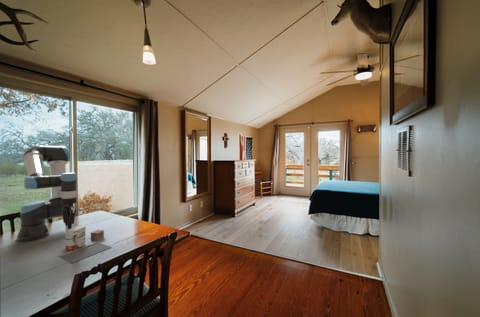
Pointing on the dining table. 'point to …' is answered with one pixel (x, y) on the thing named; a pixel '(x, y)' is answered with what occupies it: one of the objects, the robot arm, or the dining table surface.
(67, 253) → the oak strip
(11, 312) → the dining table surface
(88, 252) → the mat
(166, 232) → the dining table surface
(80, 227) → the ink box
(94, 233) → the walnut block
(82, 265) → the dining table surface
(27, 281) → the dining table surface
